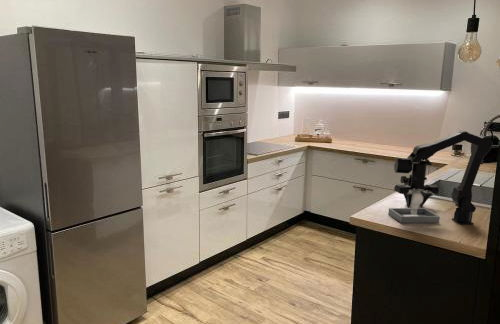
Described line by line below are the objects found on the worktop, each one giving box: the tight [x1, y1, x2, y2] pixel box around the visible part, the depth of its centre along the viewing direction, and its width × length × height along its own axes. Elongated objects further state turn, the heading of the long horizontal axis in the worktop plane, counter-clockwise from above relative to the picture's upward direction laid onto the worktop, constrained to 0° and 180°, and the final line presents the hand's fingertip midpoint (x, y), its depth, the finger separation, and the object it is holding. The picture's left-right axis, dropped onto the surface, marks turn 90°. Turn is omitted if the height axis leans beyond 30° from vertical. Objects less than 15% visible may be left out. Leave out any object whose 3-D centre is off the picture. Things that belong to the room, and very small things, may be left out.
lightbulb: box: [410, 191, 423, 215], centre depth 177 cm, size 6×6×11 cm
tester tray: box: [387, 207, 440, 225], centre depth 178 cm, size 18×12×3 cm, turn 97°
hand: (414, 207), depth 177 cm, fingers closed on lightbulb, 5 cm apart
